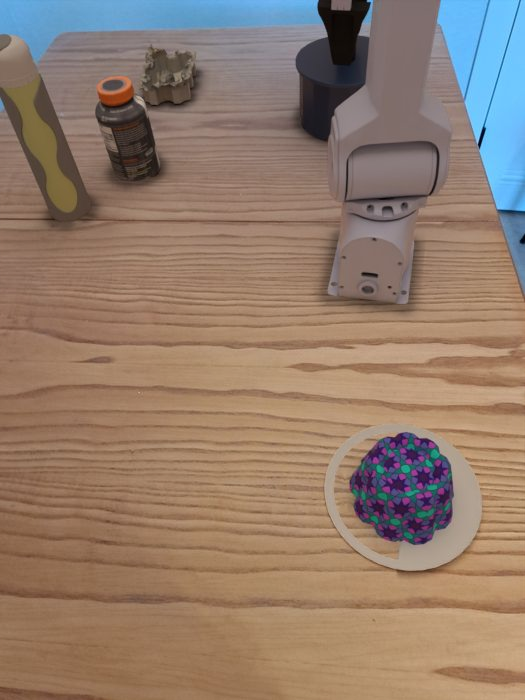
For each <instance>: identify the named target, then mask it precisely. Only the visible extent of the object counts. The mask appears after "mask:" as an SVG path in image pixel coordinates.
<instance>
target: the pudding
mask: <svg viewBox="0 0 525 700" xmlns="http://www.w3.org/2000/svg"><path fill="white" fill-rule="evenodd" d="M383 434H396V435H395V436H390V435H389V436H385V437H382V438H380V439H378V440H377V442H376V443H375V444H374V445H373V446H372V447H371V448H370V450H369V451H368V452H367V453H366V454H365V455H364V456H363V458H362V459H361V460H360V464H359V466H358V467H357V468H356V469H355V470H354V471H353V472H352V475H351V476H350V479H349V490H350V492H351V493H352V494H353V496H354V497H355V500H354V503H353V506H352V507H353V510H354V512H355V515H356V517H357V518H358V519H359V520H360V521H361V522H362V523H364V524H367V525H372V527H373V528H374V531H375V533H376V535H377V536H378V537H380V538H381V539H383V540H385V541H389V542H393V543H396V542H398V541H399V543H398V553H397V554H398V555H397V559H396V558H392V557H389V556H386V555H383V554H380V553H378V552H376V551H375V550H372V549H371V548H369V547H368V546H366V545H365V544H364V543H362V542H361V541H360V540H359V539H358V538H357V537H355V536H354V534H353V533H352V532H351V531H350V530H349V529H348V527H347V525H346V524H345V523H344V521H343V519H342V517H341V515H340V512H339V510H338V507H337V503H336V498H335V482H336V481H335V479H336V476H337V474H338V473H337V472H338V469H339V467H340V465H341V463H342V461H343V459H344V458H345V457H346V455H347V454H348V453H349V452H350V451H351V450H352V449H354V447H355V446H357V445H358V444H360V443H362V442H363V441H365V440H367V439H369V438H373V437H375V436H378V435H383ZM323 490H324V491H323V492H324V493H323V494H324V501H325V505H326V509H327V513H328V515H329V517H330V519H331V522H332V523H333V526H334V528H335V529H336V530H337V532H338V533H339V534H340V537H341V538H342V539H344V541H346V543H347V544H348V545H349V546H350V547H351V548H352V549H354V550H355V551H356V552H357V553H359V554H360V555H362V556H363V557H365V558H366V559H368V560H370V561H372V562H374V563H376V564H378V565H381V566H383V567H387V568H390V569H394V570H399V571H406V572H409V571H410V572H411V571H425V570H430V569H434V568H438V567H441V566H442V565H445V564H447V563H449V562H451V561H453V560H454V559H456V558H457V557H458V556H460V555H461V554H462V553H464V551H465V550H466V549H467V548H468V547H469V546H470V544H471V543H472V541H473V540H474V538H475V537H476V535H477V533H478V530H479V527H480V525H481V521H482V515H483V495H482V490H481V486H480V483H479V480H478V478H477V476H476V474H475V471H474V469H473V468H472V467H471V465H470V463H469V461H468V460H467V458H466V457H464V455H463V454H462V453H461V452H460V450H458V449H457V448H456V447H455V446H454V445H452V444H451V442H449V441H448V440H447V439H445V438H444V437H442V436H440V435H438V434H437V433H435V432H432V431H431V430H428V429H426V428H423V427H420V426H416V425H413V424H406V423H398V422H395V423H381V424H377V425H371V426H369V427H367V428H364V429H361V430H359V431H358V432H356V433H354V434H352V435H351V436H349V437H348V438H347V439H346V440H344V441H343V442H342V443H341V445H339V447H338V448H337V450H336V451H335V452H334V453H333V455H332V456H331V459H330V461H329V463H328V465H327V469H326V472H325V476H324V485H323Z"/></svg>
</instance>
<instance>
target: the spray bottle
mask: <svg viewBox="0 0 525 700" xmlns="http://www.w3.org/2000/svg"><path fill="white" fill-rule="evenodd" d="M0 100H1V102H2V105H3V107H4V110H5V112H6V114H7V117H8V120H9V121H10V124H11V126H12V128H13V131H14V133H15V135H16V138H17V140H18V142H19V145H20V148H21V149H22V152H23V154H24V156H25V159H26V160H27V161H26V162H27V163H28V166H29V167H30V170H31V172H32V175H33V177H34V179H35V181H36V184H37V185H38V188H39V191H40V193H41V195H42V197H43V200H44V202H45V204H46V207H47V209H48V211H49V214H50V216H51V218H52V219H54V220H55V221H57V222H62V223H68V222H69V223H71V222H75V221H79V220H80V219H82V218H84V217H85V216H86V215H87V214H88V213H89V212H90V211H91V209H92V201H91V199H90V196H89V194H88V191H87V189H86V185H85V184H84V181H83V178H82V175H81V173H80V170H79V167H78V165H77V163H76V161H75V158H74V156H73V153H72V150H71V148H70V145H69V143H68V140H67V137H66V135H65V133H64V130H63V127H62V124H61V122H60V120H59V117H58V115H57V113H56V110H55V107H54V104H53V102H52V99H51V98H50V95H49V91H48V89H47V87H46V85H45V82H44V79H43V76H42V74H41V73H40V72H39V70H38V67H37V64H36V62H35V60H34V57H33V55H32V53H31V49H30V46H29V45H28V43H27V42H26V41H25V40H24V39H22V38H21V37H19V36H17V35H13V34H7V33H2V34H1V33H0Z"/></svg>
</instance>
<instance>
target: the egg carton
mask: <svg viewBox="0 0 525 700" xmlns="http://www.w3.org/2000/svg"><path fill="white" fill-rule="evenodd" d="M144 58H145V60H144V64H143V65H142V70H141V74H140V76H139V91H141V90H142V92H143V96H144V101H145V103H149V104H150V105H151V106H159V104H161V103H163V102H173V104H182V103H184V102H185V101H190V100H191V98H192V93H191V88H194V85H195V83H194V78H193V77H195V76H196V75H197V68H196V60H197V51H195V50H193V51H189V50H187V49H186V50H185V52H181V51H179V50H175V52H174V55H168V53H167V51H166V49H165V48H162V47H159V48H158V47H157V48H155V47H153V44H152V43H151V44H149V45H148V47H147V49H146V52H145V57H144Z"/></svg>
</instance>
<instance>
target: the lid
mask: <svg viewBox="0 0 525 700" xmlns="http://www.w3.org/2000/svg"><path fill="white" fill-rule="evenodd" d="M369 38H370V36H366V35H360V34H359V35H358V37H357V42H356V46H355V51H354V55H353V59H352V62H351V64H350V66H345V65H333V62H332V58H331V53H330V46H329V41H328V36H325V37H322V38H319V39H316V40H314V41H311V42H309V43H308V44H306V45H305V46H303V47H302V48H301V49H299V51H298V53H297V54H296V56H295V69H296V71H297V73H298V74H300V75H301V76H302V77H303V78H305V79H306V80H308V81H310V82H312V83H314V84H317V85H321V86H325V87H330V88H358V87H363V86H364V85H365V82H366V71H367V60H368V49H369Z"/></svg>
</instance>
